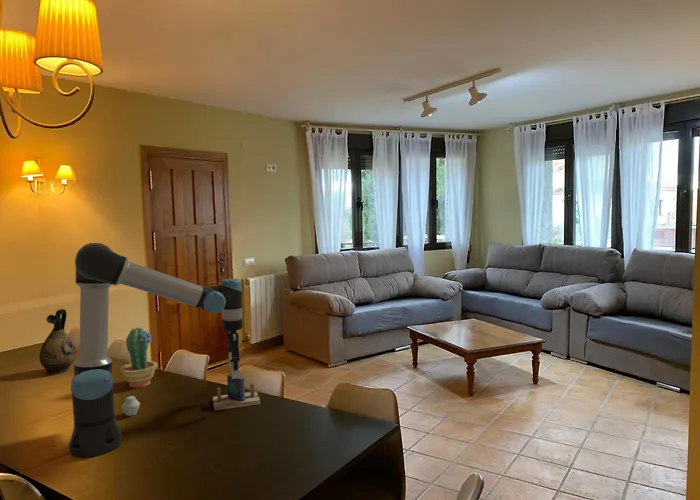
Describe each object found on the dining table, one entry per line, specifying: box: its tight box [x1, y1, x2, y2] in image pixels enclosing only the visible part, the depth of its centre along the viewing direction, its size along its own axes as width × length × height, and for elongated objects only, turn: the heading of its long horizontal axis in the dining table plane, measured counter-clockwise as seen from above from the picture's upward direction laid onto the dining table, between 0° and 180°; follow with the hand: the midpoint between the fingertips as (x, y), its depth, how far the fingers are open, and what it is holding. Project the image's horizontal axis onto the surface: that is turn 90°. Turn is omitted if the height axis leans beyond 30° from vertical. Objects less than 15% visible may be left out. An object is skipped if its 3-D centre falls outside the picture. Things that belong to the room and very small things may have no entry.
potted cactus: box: [119, 327, 158, 388], centre depth 217 cm, size 15×15×25 cm
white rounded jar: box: [121, 395, 141, 417], centre depth 183 cm, size 6×6×7 cm
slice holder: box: [212, 382, 261, 412], centre depth 192 cm, size 11×17×6 cm, turn 108°
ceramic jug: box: [38, 308, 77, 375], centre depth 239 cm, size 17×15×30 cm
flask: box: [226, 372, 246, 401], centre depth 192 cm, size 9×3×11 cm, turn 52°
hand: (234, 373), depth 191 cm, fingers open, 13 cm apart
